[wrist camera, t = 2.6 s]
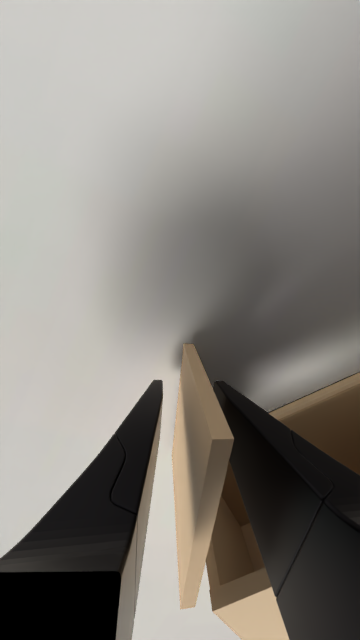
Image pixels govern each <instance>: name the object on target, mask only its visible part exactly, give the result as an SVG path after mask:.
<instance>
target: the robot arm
mask: <svg viewBox="0 0 360 640" xmlns="http://www.w3.org/2000/svg"><path fill="white" fill-rule="evenodd" d="M213 391H214V393H215V395H216V398H217V400H218V402H219V404H220V407H221V409H222V411H223V414H224V416H225V418H226V421H227V423H228V425H229V428H230V430H231V432H232V435H233V437H234V442H233V446H232V450H231V455H230V459H229V461H230V464H231V467H232V470H233V473H234V476H235V479H236V482H237V485H238V488H239V491H240V494H241V497H242V500H243V503H244V506H245V509H246V512H247V515H248V518H249V521H250V524H251V527H252V530H253V533H254V536H255V539H256V542H257V545H258V547H259V550H260V553H261V556H262V559H263V562H264V565H265V568H266V571H267V574H268V577H269V580H270V583H271V586H272V589H273V592H274V595H275V597H277V598H276V601H277V604H278V607H279V610H280V613H281V616H282V619H283V622H284V625H285V628H286V631H287V634H288V637H289V640H360V475H359V474H357V473H356V472H354V471H352V470H351V469H349V468H348V467H346V466H345V465H343V464H342V463H340V462H338V461H337V460H335V459H334V458H332V457H331V456H329V455H328V454H326V453H325V452H323V451H321V450H320V449H318V448H317V447H316V446H314V445H313V444H311V443H310V442H308V441H307V440H305V439H304V438H302V437H301V436H300V435H298V434H297V433H295V432H294V431H293V430H290V428H288V427H287V426H286V425H284V424H283V423H281V422H280V421H279V420H277V419H276V418H274V417H273V416H272V415H270V414H269V413H267V412H266V411H265V410H263V409H262V408H260V407H259V406H258V405H256V404H255V403H253V402H252V401H251V400H249V399H248V398H246V397H245V396H244V395H242V394H241V393H239V392H238V391H237V390H235V389H234V388H232V387H231V386H230V385H228V384H227V383H225V382H224V381H215V382H214V386H213ZM162 402H163V382H162V380H153V382H152V383H151V384H150V386H149V387H148V388H147V390H146V391H145V393H144V394H143V395H142V397H141V398H140V399H139V401H138V402H137V403H136V405H135V406H134V407H133V409H132V410H131V412H130V413H129V414H128V416H127V417H126V418H125V420H124V421H123V422H122V424H121V425H120V426H119V428H118V429H117V431H116V432H115V434H114V435H113V436H112V437H111V439H110V440H109V441H108V443H107V444H106V445H105V447H104V448H103V449H102V450H101V452H100V453H99V454H98V455H97V457H96V458H95V459H94V460H93V461H92V463H91V464H90V465H89V466H88V467H87V468H86V470H85V471H84V472H83V473H82V474H81V475H80V476H79V478H78V479H77V480H76V481H75V482H74V483H73V484H72V485H71V486H70V488H69V489H68V490H67V491H66V492H65V493H64V494H63V495H62V496H61V498H60V499H59V500H58V501H57V502H56V503H55V504H54V505H53V506H52V508H51V509H50V510H49V511H48V512H47V513H46V514H45V515H44V516H43V518H42V519H41V520H40V521H39V522H38V523H37V524H36V525H35V526H34V527H33V529H32V530H31V531H30V532H29V533H28V534H27V535H26V536H25V537H24V538H23V539H22V540H21V541H20V542H19V543H17V544H16V545H15V546H14V547H13V548H12V549H11V550H10V551H9V552H7V553H6V554H5V555H4V556H3V557H1V558H0V640H132V633H133V625H134V617H135V611H136V604H137V596H138V589H139V582H140V575H141V568H142V561H143V553H144V546H145V539H146V532H147V525H148V518H149V510H150V503H151V496H152V489H153V482H154V475H155V467H156V460H157V453H158V446H159V439H160V428H161V415H162Z"/></svg>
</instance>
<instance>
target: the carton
mask: <svg viewBox="0 0 360 640" xmlns="http://www.w3.org/2000/svg"><path fill="white" fill-rule="evenodd" d="M269 414H270V415H272V416H273V417H274V418H276V419H277V420H279V421H280V422H281V423H283V424H284V425H286V426H287V427H288V428H290V430H293V431H294V432H295V433H297V434H298V435H300V436H301V437H302V438H304V439H305V440H307V441H308V442H310V443H311V444H313V445H314V446H316V447H317V448H318V449H320V450H321V451H323V452H325V453H326V454H328V455H329V456H331V457H332V458H334V459H335V460H337V461H338V462H340V463H342V464H343V465H345V466H346V467H348V468H349V469H351V470H352V471H354V472H356V473H357V474H359V475H360V372H359V373H357V374H355V375H353V376H350V377H348V378H346V379H344V380H341V381H339V382H337V383H335V384H332V385H330V386H328V387H326V388H324V389H321V390H319V391H317V392H315V393H312V394H310V395H308V396H306V397H303V398H301V399H299V400H297V401H295V402H292V403H290V404H288V405H286V406H283V407H281V408H279V409H277V410H274V411H272V412H270V413H269ZM206 565H207V572H208V579H209V585H210V590H209V591H210V598H211V604H212V611H213V612H214V613H215V614H216V615H217V616H218V617H219V618H220V619H221V620H222V621H223V622H224V623H225V624H226V625H227V626H228V627H229V628H230V629H231V630H232V631H233V632H234V633H235V634H237V635H238V636H239V637H240V638H241V639H242V640H289V637H288V634H287V631H286V628H285V625H284V622H283V619H282V616H281V613H280V610H279V607H278V604H277V601H276V598H277V597H275V595H274V592H273V589H272V586H271V583H270V580H269V577H268V574H267V571H266V568H265V565H264V562H263V559H262V556H261V553H260V550H259V547H258V545H257V542H256V539H255V536H254V533H253V530H252V527H251V524H250V521H249V518H248V515H247V512H246V509H245V506H244V503H243V500H242V497H241V494H240V491H239V488H238V485H237V482H236V479H235V476H234V473H233V470H232V467H231V464H230V461H229V463H228V467H227V472H226V476H225V480H224V485H223V489H222V493H221V497H220V502H219V506H218V510H217V515H216V519H215V523H214V527H213V532H212V536H211V540H210V545H209V549H208V553H207V558H206Z"/></svg>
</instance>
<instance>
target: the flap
mask: <svg viewBox="0 0 360 640" xmlns="http://www.w3.org/2000/svg"><path fill="white" fill-rule="evenodd" d="M233 442H234V437H233V435H232V432H231V430H230V428H229V425H228V423H227V421H226V418H225V416H224V414H223V411H222V409H221V407H220V404H219V402H218V400H217V398H216V395H215V393H214V391H213V388H212V386H211V384H210V381H209V379H208V377H207V374H206V372H205V370H204V367H203V365H202V363H201V360H200V358H199V356H198V353H197V351H196V349H195V346H194V344H184V346H183V355H182V365H181V374H180V383H179V393H178V402H177V412H176V421H175V431H174V440H173V450H172V465H173V483H174V501H175V520H176V538H177V556H178V574H179V592H180V609H186V608H192V607H195V605H196V600H197V596H198V592H199V588H200V583H201V579H202V575H203V570H204V566H205V562H206V558H207V553H208V549H209V545H210V540H211V536H212V532H213V527H214V523H215V519H216V515H217V510H218V506H219V502H220V497H221V493H222V489H223V485H224V480H225V476H226V472H227V467H228V463H229V459H230V455H231V450H232V446H233Z"/></svg>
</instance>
